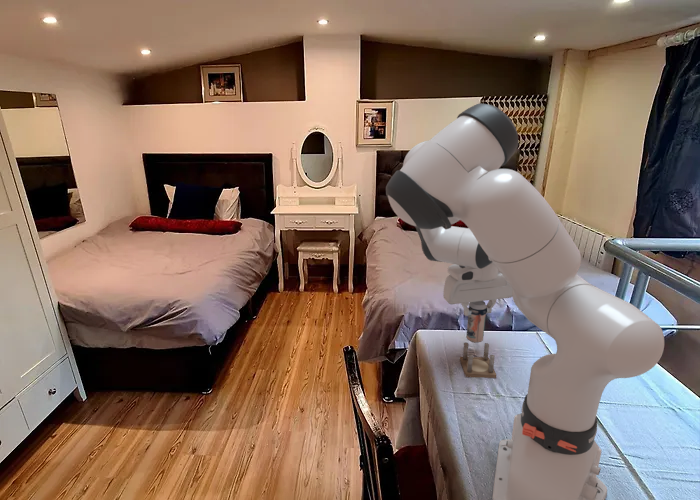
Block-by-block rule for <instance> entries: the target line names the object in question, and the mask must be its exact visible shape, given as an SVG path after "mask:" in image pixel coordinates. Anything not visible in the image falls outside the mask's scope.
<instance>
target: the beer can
mask: <svg viewBox="0 0 700 500" xmlns="http://www.w3.org/2000/svg"><path fill="white" fill-rule="evenodd" d="M486 305H487V303H486V302H485V301H478V302H469V305H468V308H470V309H471V310H472V313H471V316H467V324H466V326H467V327H466V337H465V338H466V339H467V341H468V342H471V343H473V344H474V343H475V344H479V343H482V342H483V341H484V335H485V327H486V326H485V325H486V317H487V316H486V315H487V314H486V308H487V306H486Z"/></svg>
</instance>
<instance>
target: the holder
mask: <svg viewBox="0 0 700 500" xmlns="http://www.w3.org/2000/svg"><path fill="white" fill-rule="evenodd" d="M483 347H484V348H483V356H481V357H480V356H474V355H473V354H472V353H471V354H470V353H469V343H468V342H464V343H463V352H462V356H459V362H460V364H461V367H462V371H463V375H464V377H465V378H478V379H481V378H483V379H486V378H487V379H497V377H498V376H497V373H496V371H495V367H494V366H495V360H496V359H495V358H496V356H495V354H489V349H490V343H488V342H485V343H484V346H483ZM468 353H469V354H468Z"/></svg>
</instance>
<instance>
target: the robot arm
mask: <svg viewBox="0 0 700 500" xmlns="http://www.w3.org/2000/svg"><path fill="white" fill-rule="evenodd" d="M518 147H519V135H518V131H517V128H516V126H515V124H514V122H513V121H512V120H511V119H510V117H509V116H508V114H506V112H504V111H503V110H502V109H500V108H499V107H497V106H494V105H492V104H488V103H487V104H486V103H476V104H473V105H472V106H470V107H468V108H466V109H465V110H464V111H462V112H461V113H459V114H458V115H457V117H456V119H454V120H453V121H452V122H450V123H449V124H447V125H446V126H445V127H444V128H442V129H441V130H439V132H437V133H436V134H434V136H433V137H432V138H430V140H425V141H422V142H419V143H417V144H416V145H414V146H413V147H412V148H411V149H410V150H409V151H408V152H407V153H406V155H405V157H404V160H403V164H402V167H401V169H399V170H396V171H395V172H394V173H393V175H392V176H391V177H390V179H389V180H388V182H387V184H386V186H385V195H386V197H387V199H388V202H389V204H390V207H391V209H392V211H393V212H394V213H395V215H396V216H397V217H398V218H399V219H400V220H402V221H403V222H405V223H406V224H408V225H410V226H413V227H415V229H416V232H417V234H418V237H419V240H420V244H421V246H420V247H421V250H422V253H423V254H424V256H425V257H426V259H427V260H429V261H431V262H440V263H447V264H451V265H449V266H448V267H447V273H448V275H447V277H446V278H445V280H444V285H443V286H444V287H443V293H442V295H443V296H442V297H443V299H444V300H445V301H446V303H448V304H450V305H451V306H452V305H459V304H460V305H461V306H462V307H463V315H464V316H465V317H468V316H471V313H472V310H471V309H470V308H469V303H470V302H478V301H484V302H485V301H488V302H487V303H486V306H487V308H486V315H487V314H492V310H493V308H494V306H495V305H496V303H497V301H498V300H502V299H504V300H505V299H511V298H512V301H513V302H514V305H515V306H516V307H517V309H518V310H519V311H520V312H521V313H522V315H523V316H524V317H525V318H526V319H527V320H528V322H530V323H531V324H533V325H535V326H536V327H537V328H538V329H540V330H541V331H543V333H545V334H547V335H548V336H549V337H551V339H553V340H554V341H555V344H556V352H555V353H549V354H545V355H543V356H542V357H541V356H540V357H539V358H538V359H537V360H535V362H534V363H532V365H531V368H530V375H529V379H528V381H529V382H528V388H527V393H526V394H525V396H524V400H523V402H522V404H521V405H522V407H521V413H518V414H516V415H514V417H513V425H512V433H511V439H501V440H500V441H499V444H498V448H497V454H496V455H497V456H496V457H497V458H496V465H495V472H494V480H493V489H492V497H491V500H606V497H607V494H608V487H607V486H606V484H605V483H604V482H603V481H602V480H601V479H600V478H598V476H599V475H600V473H601V469H602V468H601V467H600V461H601V456H602V449H601V448H600V446H599V445H598V444H597V441H595V439H596V436H597V432H598V417H597V413H598V409H599V406H600V401H601V399H602V395H603V393H604V391H605V389H606V387H607V386H608V384H609V383H611V381H613V380H616V379H630V378H635V377H638V376H641V375H643V374H646V373H648V372H649V371H650V370H652V369H653V368H654V367H655V366H657V364H658V362H659V361H660V359H661V357H662V355H663V354H664V348H665V335H664V332H663V329H662V328H661V326H660V325H659V324H658V322H656V321H655V320H653V319H652V318H651V317H649V316H648V315H647V314H646V313H644V312H643V311H642V310H641V309H639V308H638V307H636V306H635V305H633V304H632V303H630V302H628V301H627V300H623V299H622V298H620V297H617V296H616V295H614V294H612V293H610V292H608V291H606V290H603V289H601V288H599V287H597V286H595V285H593V284H591V283H590V282H588V281H587V280H585V278H583V277H582V276H580V275H579V274H578V271H579V268H580V267H581V263H582V255H581V251H580V250H579V248H578V246H577V244H576V243H575V242H574V239H573V238H572V237H571V235H570V234H569V231H567V229H566V228H565V225H564V224H563V223H562V221H561V220H560V218H559V217H558V214H556V212H555V211H554V209H553V208H552V207H551V205H550V203H548V201H547V200H546V198H544V196H543V195H542V194H541V193H540V192H539V190H537V189H536V187H534V185H533V184H532V183H530V181H529V180H527V179H526V177H525V176H523V174H521V173H520V172H518V171H516V170H515V169H514V170H513V169H510V168H501V167H502V166H503V167H504V166H505V165H506V164H507V163H508V162H509V160H510V159H511V158H512V157H513V155H514V154H515V152H516V151H517V148H518ZM460 221H461V222H463V223H464V224H465V226H467V227H461V226H460V227H459V226H453V225H454V224H455V223H457V222H460Z"/></svg>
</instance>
